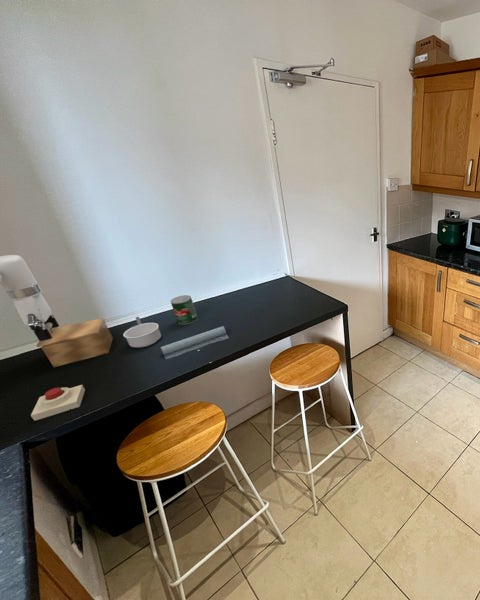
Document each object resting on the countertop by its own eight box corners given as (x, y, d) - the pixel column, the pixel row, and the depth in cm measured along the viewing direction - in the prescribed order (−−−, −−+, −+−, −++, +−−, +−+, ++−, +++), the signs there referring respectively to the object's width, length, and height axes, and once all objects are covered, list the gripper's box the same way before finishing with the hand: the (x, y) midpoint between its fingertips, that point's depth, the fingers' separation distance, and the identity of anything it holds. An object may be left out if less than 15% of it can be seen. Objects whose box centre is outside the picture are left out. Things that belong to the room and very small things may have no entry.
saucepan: (157, 323, 142) (153, 312, 139) (165, 341, 129) (160, 330, 126) (125, 332, 135) (120, 321, 132) (130, 353, 122) (124, 341, 119)
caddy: (53, 367, 114) (41, 347, 110) (62, 350, 124) (51, 331, 120) (108, 353, 122) (99, 334, 118) (112, 337, 131) (103, 319, 127)
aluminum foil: (224, 331, 136) (222, 324, 134) (229, 337, 131) (227, 331, 130) (162, 353, 122) (159, 345, 120) (165, 360, 118) (162, 353, 116)
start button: (45, 401, 94) (42, 397, 94) (49, 394, 97) (46, 390, 96) (62, 397, 96) (59, 392, 95) (65, 390, 99) (62, 385, 98)
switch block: (34, 420, 92) (27, 411, 91) (43, 402, 99) (36, 392, 97) (79, 406, 97) (73, 397, 96) (85, 389, 104) (79, 380, 102)
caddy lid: (37, 347, 110) (30, 335, 107) (47, 331, 119) (41, 320, 117) (98, 334, 118) (93, 323, 116) (103, 319, 127) (99, 309, 125)
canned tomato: (177, 326, 139) (169, 304, 134) (178, 318, 145) (171, 297, 140) (198, 322, 143) (190, 300, 138) (198, 314, 149) (191, 293, 144)
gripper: (17, 285, 112) (42, 326, 119) (-2, 304, 99) (27, 348, 107) (46, 280, 115) (69, 320, 123) (31, 298, 102) (58, 341, 110)
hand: (50, 333), depth 115 cm, fingers open, 9 cm apart
